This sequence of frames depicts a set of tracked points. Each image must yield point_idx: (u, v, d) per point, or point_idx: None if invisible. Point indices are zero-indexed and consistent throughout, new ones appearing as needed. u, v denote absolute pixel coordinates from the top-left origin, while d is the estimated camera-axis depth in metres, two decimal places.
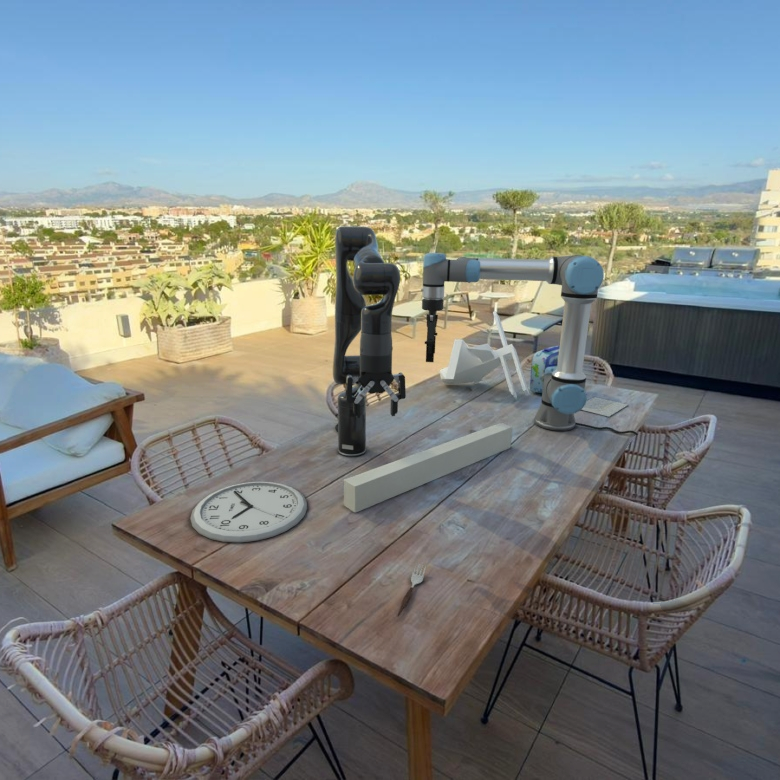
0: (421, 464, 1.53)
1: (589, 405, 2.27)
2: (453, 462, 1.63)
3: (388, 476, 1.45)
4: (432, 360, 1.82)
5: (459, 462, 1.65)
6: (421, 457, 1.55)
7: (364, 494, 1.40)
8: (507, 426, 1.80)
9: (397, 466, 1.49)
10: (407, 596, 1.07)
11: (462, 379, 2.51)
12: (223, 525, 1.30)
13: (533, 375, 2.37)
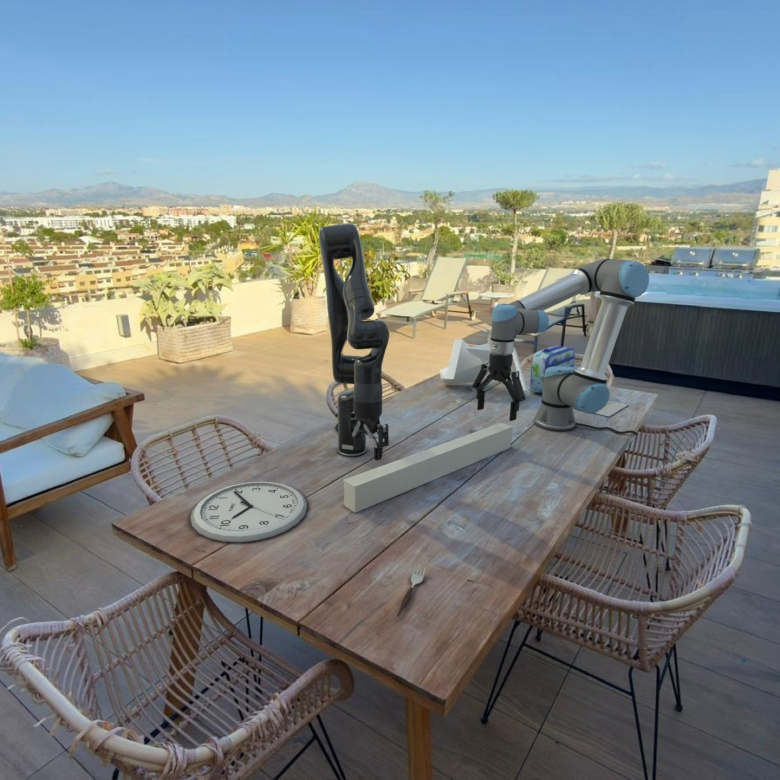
0: (421, 464, 1.53)
1: None
2: (453, 462, 1.63)
3: (388, 476, 1.45)
4: (515, 417, 1.72)
5: (459, 462, 1.65)
6: (421, 457, 1.55)
7: (364, 494, 1.40)
8: (507, 426, 1.80)
9: (397, 466, 1.49)
10: (407, 596, 1.07)
11: (462, 379, 2.51)
12: (223, 525, 1.30)
13: (533, 375, 2.37)
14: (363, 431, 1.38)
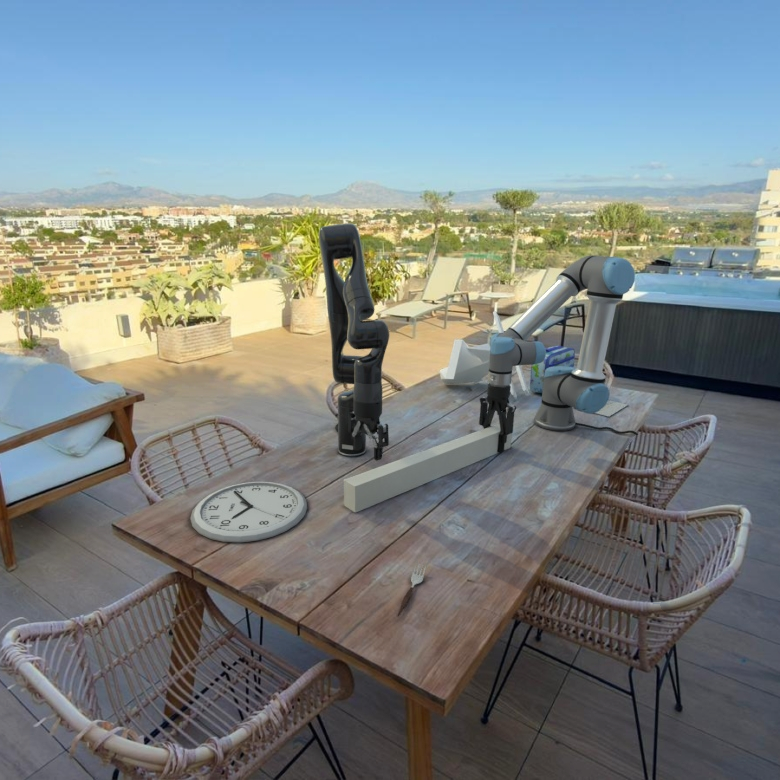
0: (421, 464, 1.53)
1: None
2: (453, 462, 1.63)
3: (388, 476, 1.45)
4: (503, 449, 1.78)
5: (459, 462, 1.65)
6: (421, 457, 1.55)
7: (364, 494, 1.40)
8: None
9: (397, 466, 1.49)
10: (407, 596, 1.07)
11: (462, 379, 2.51)
12: (223, 525, 1.30)
13: (533, 375, 2.37)
14: (363, 431, 1.38)
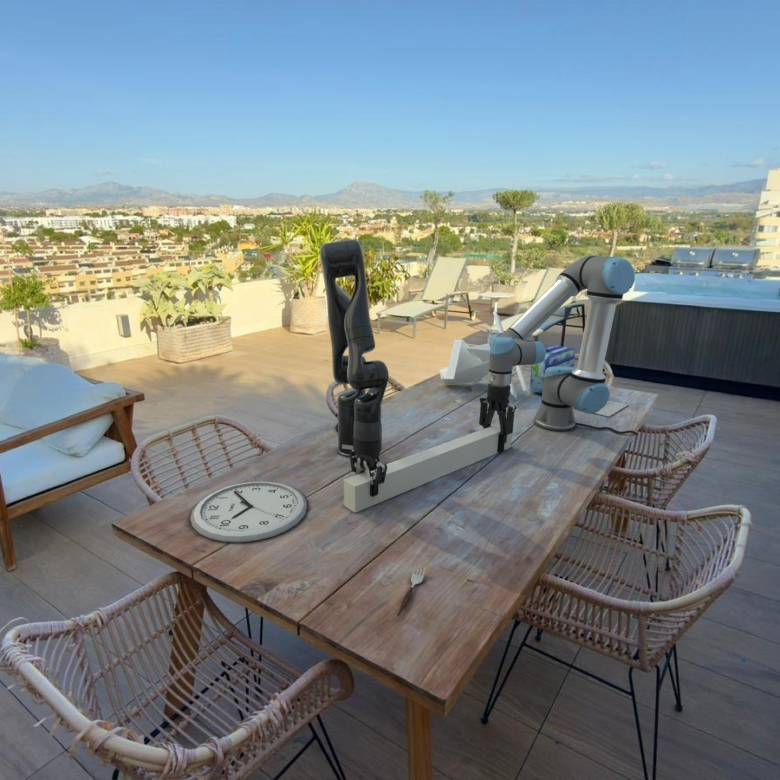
0: (421, 464, 1.53)
1: None
2: (453, 462, 1.63)
3: (388, 476, 1.45)
4: (503, 449, 1.78)
5: (459, 462, 1.65)
6: (421, 457, 1.55)
7: (364, 494, 1.40)
8: None
9: (397, 466, 1.49)
10: (407, 596, 1.07)
11: (462, 379, 2.51)
12: (223, 525, 1.30)
13: (533, 375, 2.37)
14: (363, 467, 1.41)
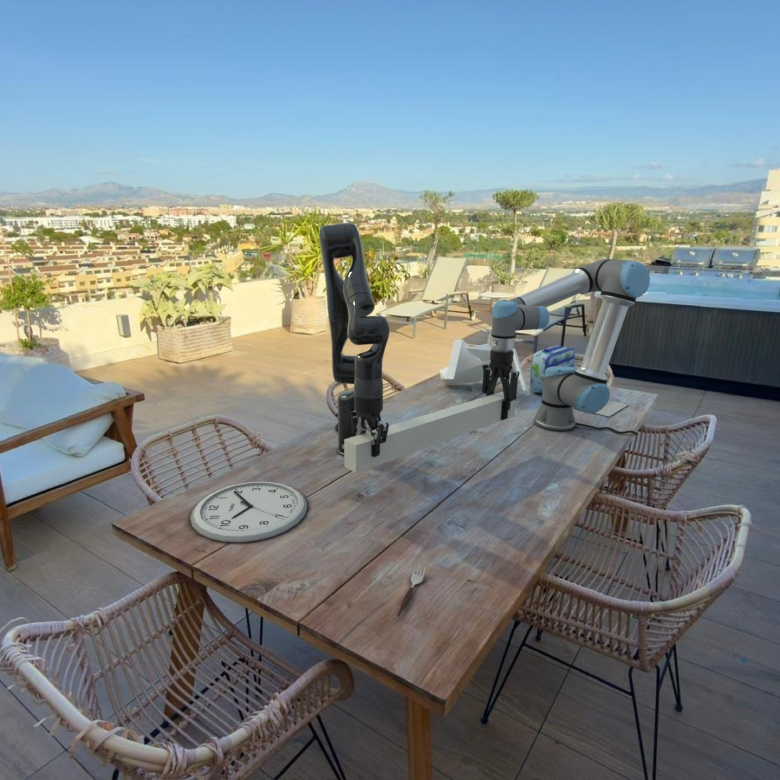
0: (423, 427, 1.49)
1: None
2: (456, 427, 1.59)
3: (390, 436, 1.41)
4: (507, 416, 1.75)
5: (462, 427, 1.62)
6: (424, 420, 1.52)
7: (365, 454, 1.37)
8: None
9: (399, 427, 1.46)
10: (407, 596, 1.07)
11: (462, 379, 2.51)
12: (223, 525, 1.30)
13: (533, 375, 2.37)
14: (364, 427, 1.38)
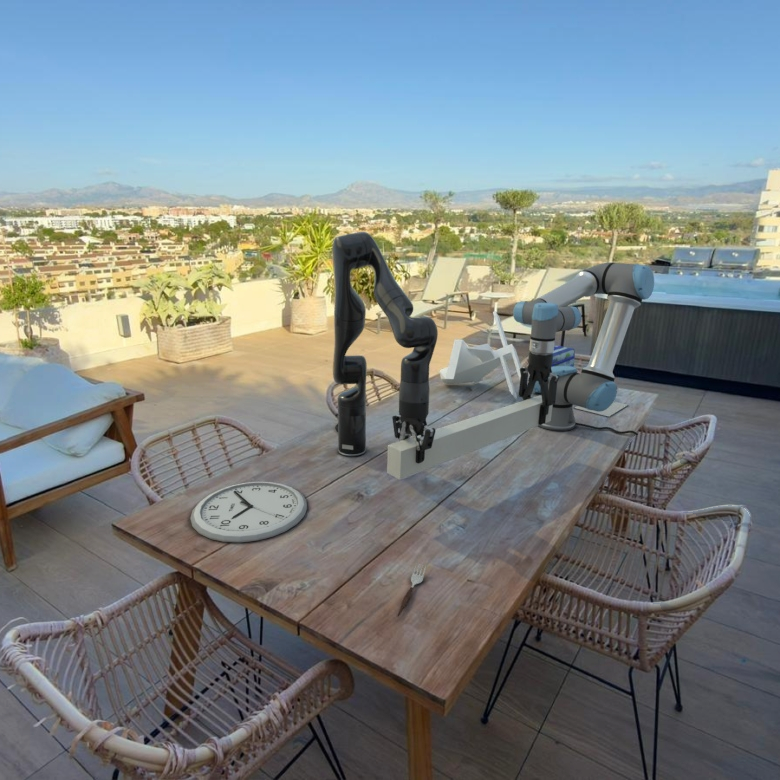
0: (465, 432, 1.45)
1: None
2: (496, 432, 1.55)
3: (433, 442, 1.37)
4: (544, 421, 1.71)
5: (502, 432, 1.57)
6: (465, 425, 1.47)
7: (410, 460, 1.32)
8: None
9: (441, 433, 1.41)
10: (407, 596, 1.07)
11: (462, 379, 2.51)
12: (223, 525, 1.30)
13: None
14: (408, 432, 1.34)
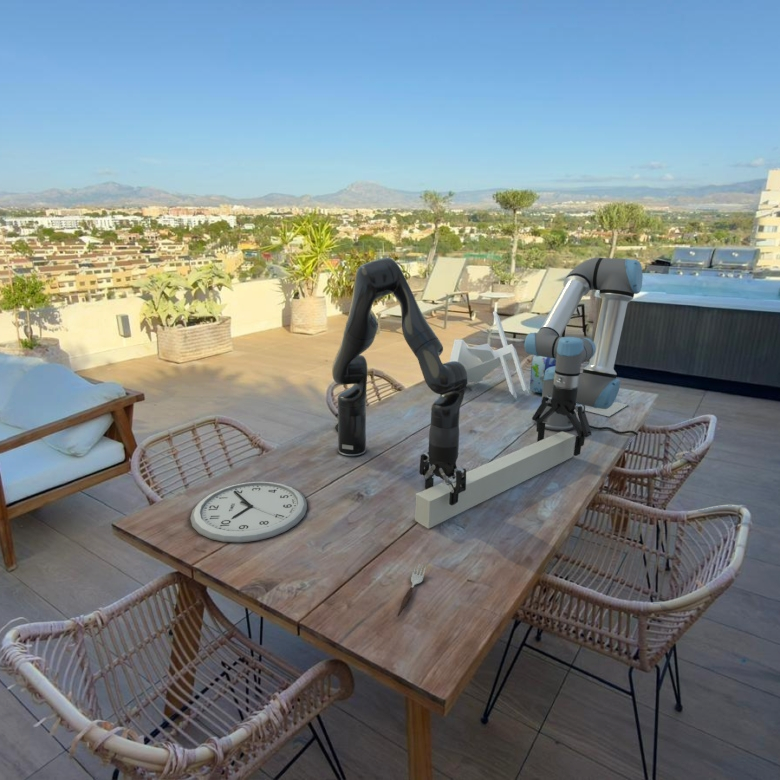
0: (491, 476, 1.46)
1: None
2: (520, 473, 1.56)
3: None
4: (579, 452, 1.68)
5: (526, 473, 1.58)
6: (490, 469, 1.48)
7: (438, 509, 1.33)
8: (570, 435, 1.73)
9: (468, 478, 1.42)
10: (407, 596, 1.07)
11: None
12: (223, 525, 1.30)
13: (533, 375, 2.37)
14: (437, 474, 1.34)
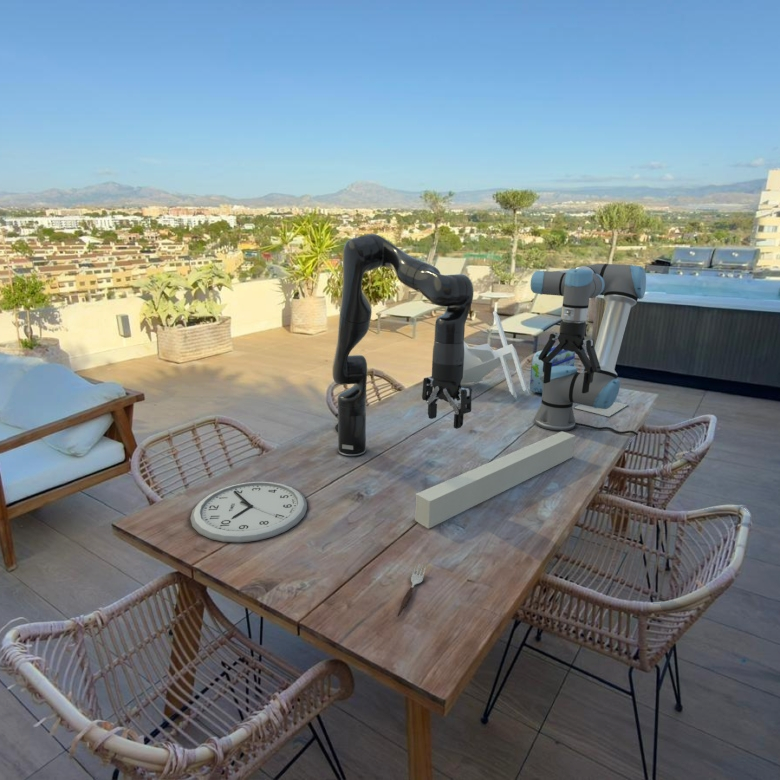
0: (491, 476, 1.46)
1: None
2: (520, 473, 1.56)
3: (460, 489, 1.38)
4: (588, 390, 1.61)
5: (526, 473, 1.58)
6: (490, 469, 1.48)
7: (438, 509, 1.33)
8: (570, 435, 1.73)
9: (468, 478, 1.42)
10: (407, 596, 1.07)
11: (462, 379, 2.51)
12: (223, 525, 1.30)
13: (533, 375, 2.37)
14: (441, 397, 1.28)
